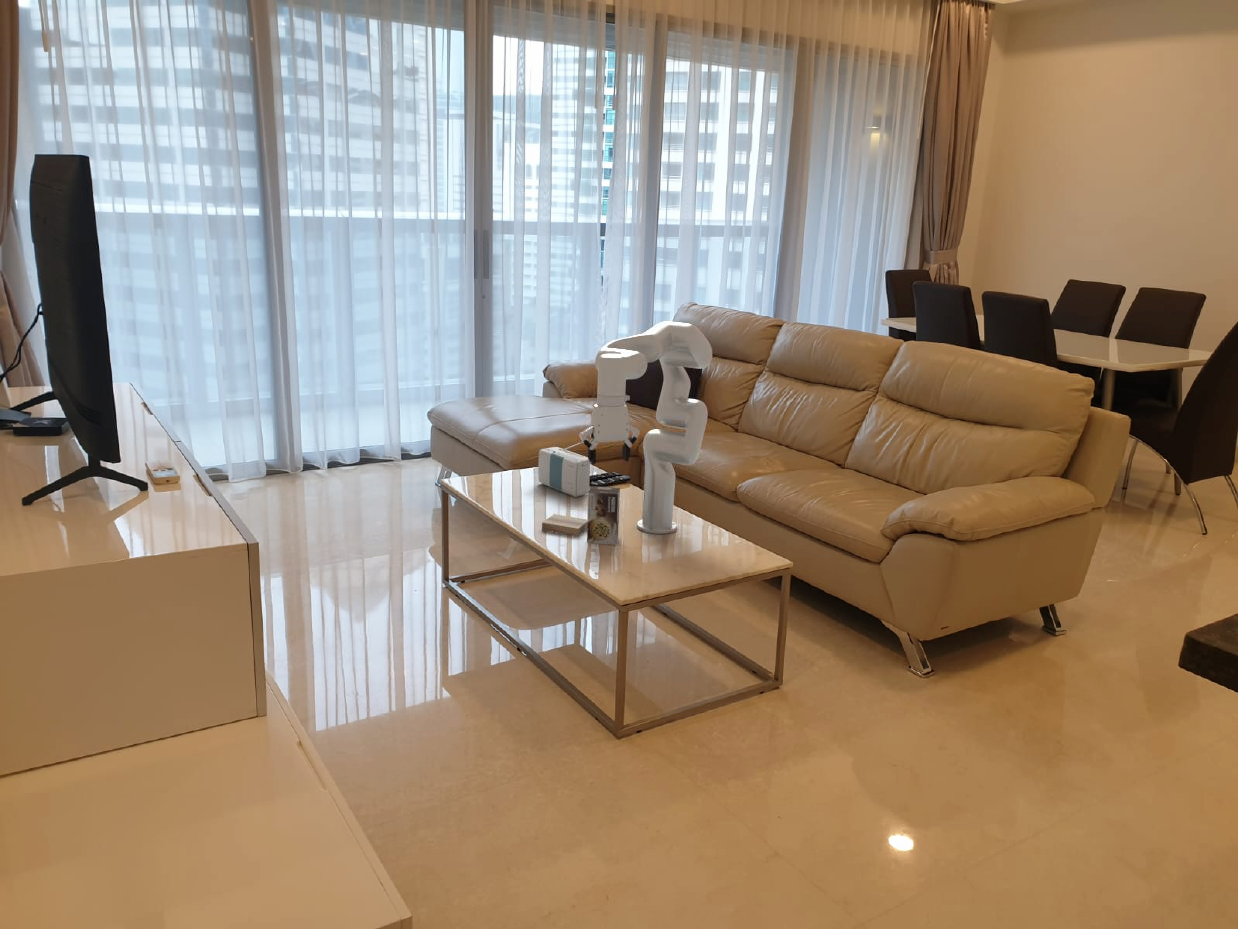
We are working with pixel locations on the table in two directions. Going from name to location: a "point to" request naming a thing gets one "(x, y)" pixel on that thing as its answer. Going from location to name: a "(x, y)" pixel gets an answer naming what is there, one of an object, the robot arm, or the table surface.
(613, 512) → the coffee box
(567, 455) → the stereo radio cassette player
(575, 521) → the flat wooden block
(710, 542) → the table surface
